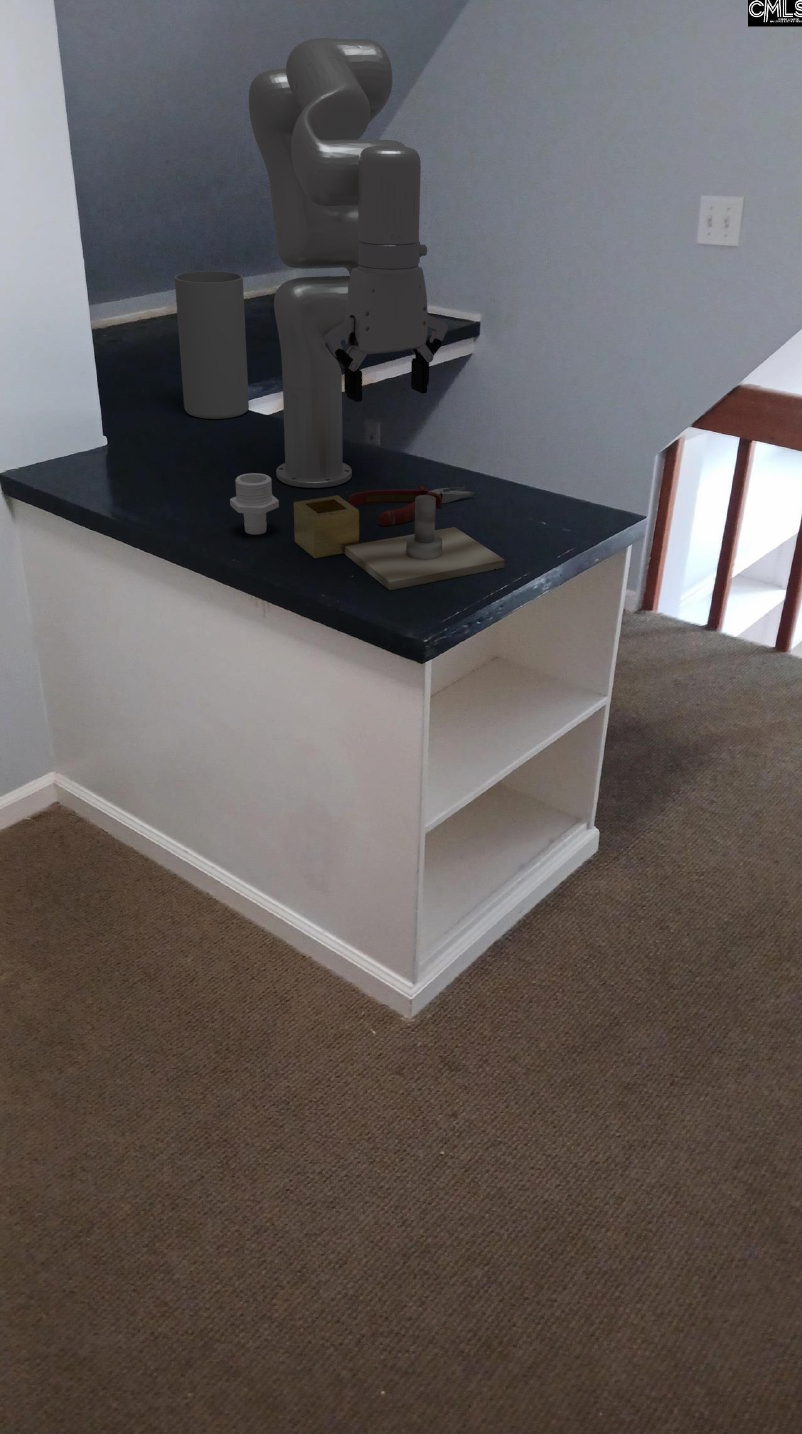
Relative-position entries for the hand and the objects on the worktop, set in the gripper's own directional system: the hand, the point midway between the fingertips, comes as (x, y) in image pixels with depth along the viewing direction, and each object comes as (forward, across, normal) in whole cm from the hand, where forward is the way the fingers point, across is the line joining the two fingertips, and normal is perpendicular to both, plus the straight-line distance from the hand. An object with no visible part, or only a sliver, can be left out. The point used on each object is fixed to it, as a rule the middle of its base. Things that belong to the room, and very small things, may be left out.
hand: (387, 395), depth 153 cm
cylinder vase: (+23, -7, -81) cm, 85 cm away
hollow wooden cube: (+23, +5, -8) cm, 25 cm away
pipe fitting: (+23, +12, -18) cm, 32 cm away
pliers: (+24, -14, -16) cm, 32 cm away
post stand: (+23, -5, +3) cm, 24 cm away
